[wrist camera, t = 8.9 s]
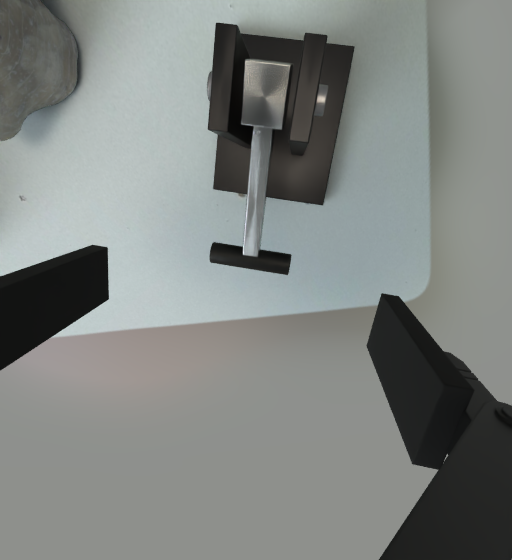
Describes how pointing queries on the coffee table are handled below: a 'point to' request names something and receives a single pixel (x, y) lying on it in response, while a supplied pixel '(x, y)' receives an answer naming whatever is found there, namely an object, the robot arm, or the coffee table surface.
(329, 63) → the bracket
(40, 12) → the decorative stone
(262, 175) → the lever
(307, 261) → the coffee table surface
